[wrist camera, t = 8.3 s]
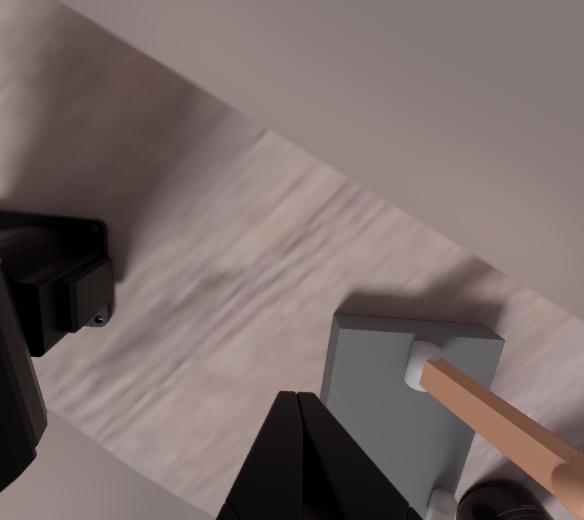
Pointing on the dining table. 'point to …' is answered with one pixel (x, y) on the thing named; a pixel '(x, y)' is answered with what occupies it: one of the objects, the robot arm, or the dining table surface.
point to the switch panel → (404, 397)
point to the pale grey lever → (441, 506)
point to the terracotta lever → (501, 425)
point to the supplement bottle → (502, 503)
